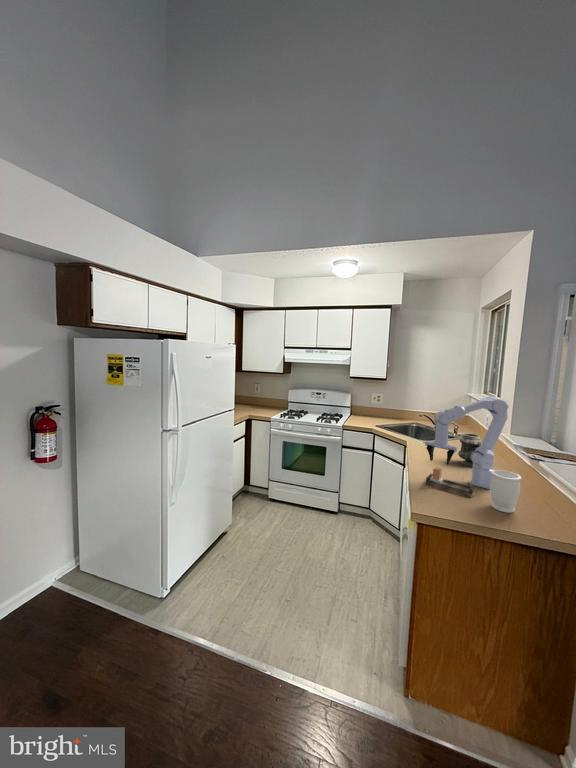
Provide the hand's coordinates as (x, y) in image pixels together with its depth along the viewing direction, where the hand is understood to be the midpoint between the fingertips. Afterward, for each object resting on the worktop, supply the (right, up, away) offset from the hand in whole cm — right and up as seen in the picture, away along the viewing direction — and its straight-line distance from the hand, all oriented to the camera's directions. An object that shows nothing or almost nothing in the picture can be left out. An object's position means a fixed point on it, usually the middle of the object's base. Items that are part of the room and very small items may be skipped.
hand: (439, 462), depth 158 cm
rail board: (+2, -11, -6) cm, 13 cm away
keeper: (-2, -9, -2) cm, 9 cm away
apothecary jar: (+31, -9, +29) cm, 43 cm away
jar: (+15, -14, -24) cm, 32 cm away
